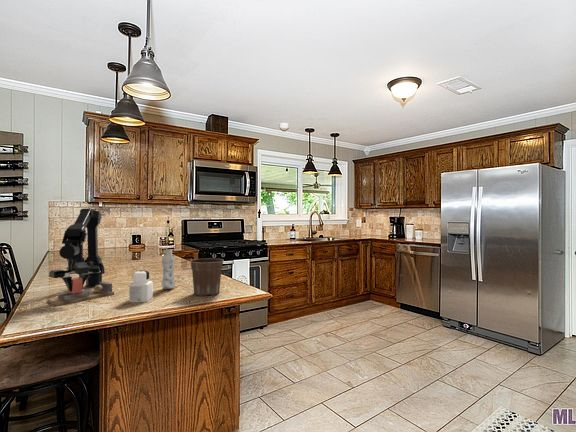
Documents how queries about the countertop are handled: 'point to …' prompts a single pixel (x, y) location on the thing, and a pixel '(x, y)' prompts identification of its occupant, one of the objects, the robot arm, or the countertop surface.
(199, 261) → the plant pot
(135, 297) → the container
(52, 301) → the nutcracker base
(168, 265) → the plastic bottle
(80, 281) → the block
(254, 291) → the countertop surface
